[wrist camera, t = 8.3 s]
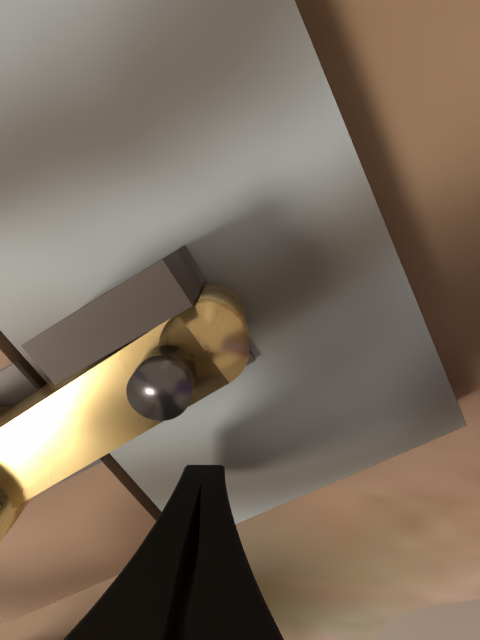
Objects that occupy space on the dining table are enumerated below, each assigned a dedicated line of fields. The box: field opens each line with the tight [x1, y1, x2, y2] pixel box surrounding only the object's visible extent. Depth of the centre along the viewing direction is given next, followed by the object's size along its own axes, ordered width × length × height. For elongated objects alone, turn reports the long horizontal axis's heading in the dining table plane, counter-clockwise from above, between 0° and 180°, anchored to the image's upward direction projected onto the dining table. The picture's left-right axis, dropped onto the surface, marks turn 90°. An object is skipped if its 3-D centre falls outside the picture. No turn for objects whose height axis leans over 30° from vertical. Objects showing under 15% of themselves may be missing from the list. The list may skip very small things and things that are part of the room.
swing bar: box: [0, 283, 250, 542], centre depth 9 cm, size 12×4×3 cm, turn 123°
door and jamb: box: [0, 0, 466, 625], centre depth 10 cm, size 18×26×4 cm
